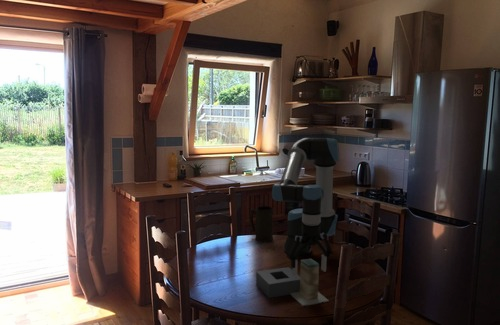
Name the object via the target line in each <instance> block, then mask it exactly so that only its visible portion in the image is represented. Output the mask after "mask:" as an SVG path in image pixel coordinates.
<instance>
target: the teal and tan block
mask: <svg viewBox="0 0 500 325" xmlns="http://www.w3.org/2000/svg"><path fill="white" fill-rule="evenodd" d="M299 269H300V272H299V276H300V295H302V296H303V297H304V298H305V299H306V300H313V299H318V292H319V277H320V276H319V275H320V274H319V273H320V272H319V271H320V263H319V262H317V261H315V260H314V259H312V258H305V259H304V258H303V259H300V267H299Z"/></svg>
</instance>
